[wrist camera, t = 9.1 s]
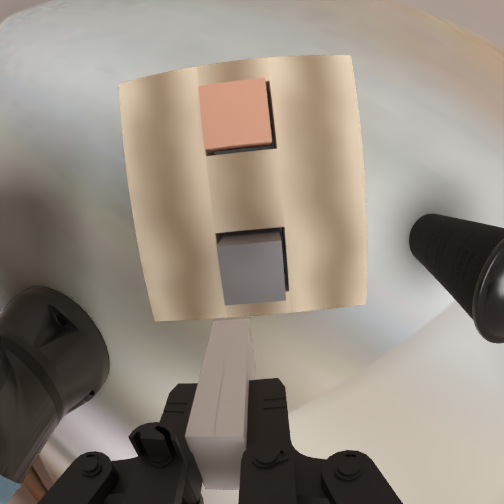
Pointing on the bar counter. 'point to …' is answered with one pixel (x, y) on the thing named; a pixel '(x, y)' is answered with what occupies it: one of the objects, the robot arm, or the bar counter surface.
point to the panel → (248, 186)
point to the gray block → (251, 266)
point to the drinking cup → (466, 266)
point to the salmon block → (235, 115)
